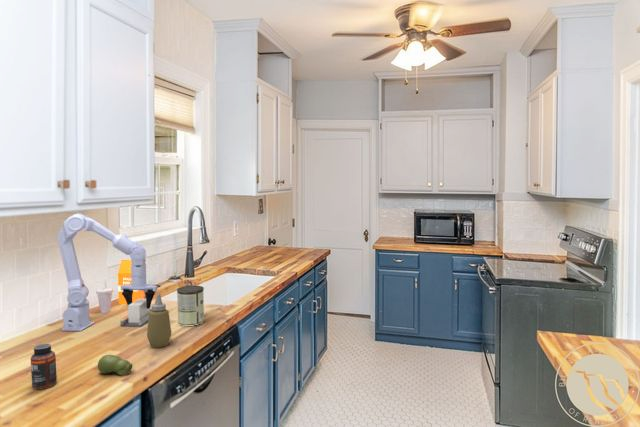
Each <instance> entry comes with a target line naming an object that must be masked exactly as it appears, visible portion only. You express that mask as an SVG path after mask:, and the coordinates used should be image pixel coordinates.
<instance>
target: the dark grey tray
mask: <svg viewBox="0 0 640 427" xmlns="http://www.w3.org/2000/svg"><path fill="white" fill-rule="evenodd" d="M150 311H152V308H150ZM148 317H149V314H148V315H147V316H145V317H144V318H142V319H141V320H140V321H139V323H129V319H128V315H127V316H125V317H124V318H123V319H121V320H120V323H119V324H120V327H133V328H137V327H140V328H141V327H143V326H144V325H145V324H147V323H148Z"/></svg>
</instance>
